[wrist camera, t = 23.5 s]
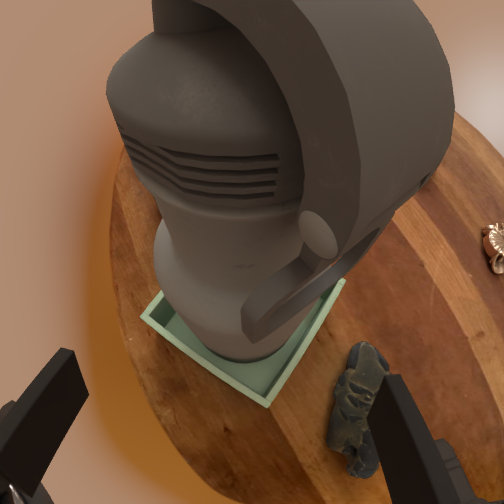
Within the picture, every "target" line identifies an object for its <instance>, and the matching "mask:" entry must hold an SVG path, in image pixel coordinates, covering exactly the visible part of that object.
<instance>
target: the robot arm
mask: <svg viewBox="0 0 504 504" xmlns="http://www.w3.org/2000/svg"><path fill="white" fill-rule="evenodd" d="M88 396H89V393H88V390H87V388H86V385H85V382H84V380H83V377H82V374H81V371H80V368H79V365H78V362H77V359H76V356H75V353H74V351H73V350H69V349H65V348H60V349H59V350H58V352H57V353H56V354H55V355H54V356H53V357H52V358H51V359H50V361H49V362H48V363H47V364H46V366H45V367H44V368H43V369H42V370H41V371H40V373H39V374H38V375H37V376H36V378H35V379H34V380H33V381H32V383H31V384H30V385H29V386H28V387H27V389H26V390H25V391H24V393H23V394H22V395H21V396H20V398H19V399H18V400H17V402H15V401H13V400H12V401H10V402H9V403H7V404H5V405H4V406H3V407H2V408H1V409H0V504H28V503H27V501H26V500H25V498H24V496H23V495H22V493H24V494H25V495H27V496H29V497H31V498H33V496H34V494H35V492H36V490H37V488H38V486H39V484H40V482H41V480H42V478H43V476H44V474H45V472H46V470H47V468H48V466H49V464H50V462H51V461H52V459H53V457H54V455H55V453H56V451H57V449H58V448H59V446H60V444H61V442H62V441H63V438H64V437H65V435H66V433H67V432H68V430H69V428H70V426H71V425H72V423H73V421H74V420H75V418H76V416H77V414H78V413H79V411H80V409H81V408H82V406H83V404H84V403H85V401H86V399H87V398H88ZM366 420H367V423H368V426H369V429H370V432H371V435H372V438H373V441H374V444H375V447H376V450H377V453H378V457H379V460H380V463H381V466H382V470H383V473H384V476H385V480H386V483H387V486H388V490H389V493H390V497H391V500H392V504H504V500H500V501H494V502H487V501H486V500H484V499H482V498H477V497H476V496H475V494H474V492H473V490H472V488H471V486H470V483H469V481H468V479H467V477H466V475H465V472H464V470H463V468H462V466H460V465H461V464H460V462H459V460H458V459H457V456H456V454H455V452H454V450H453V448H452V446H451V445H450V444H449V443H448V442H447V441H445V440H444V439H443V438H442V439H439V440H435V441H434V440H433V438H432V436H431V433H430V431H429V429H428V427H427V425H426V423H425V421H424V419H423V417H422V415H421V413H420V411H419V409H418V407H417V405H416V404H415V402H414V400H413V398H412V396H411V394H410V392H409V390H408V388H407V386H406V384H405V383H404V381H403V379H402V377H401V375H400V374H396V375H385V376H384V378H383V380H382V383H381V385H380V387H379V390H378V392H377V395H376V397H375V399H374V402H373V404H372V406H371V408H370V410H369V413H368V415H367V417H366ZM21 492H22V493H21Z"/></svg>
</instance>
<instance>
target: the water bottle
mask: <svg viewBox="0 0 504 504" xmlns="http://www.w3.org/2000/svg"><path fill="white" fill-rule="evenodd" d="M152 12H153V23H154V32H152V33H150V34H149V35H147V36H146V37H144V38H143V39H142V40H140V41H139V42H138V43H137V44H135V45H134V46H133V47H132V48H131V49H129V50H128V51H127V52H126V53H125V54H123V55H122V57H121V58H120V59H119V60H118V61H117V62H116V64H115V65H114V66H113V68H112V71H111V73H110V75H109V77H108V80H107V89H106V95H107V99H108V102H109V105H110V108H111V110H112V113H113V116H114V119H115V121H116V123H117V126H118V129H119V132H120V134H121V137H122V140H123V142H124V145H125V148H126V150H127V153H128V155H129V157H130V159H131V162H132V166H133V168H134V171H135V173H136V175H137V177H138V179H139V181H140V182H141V183H142V184H143V185H144V186H145V187H146V189H147V190H148V191H149V192H150V193H151V194H152V195H153V196H154V198H155V201H156V203H157V206H158V208H159V211H160V213H161V215H162V220H161V223H160V225H159V227H158V229H157V232H156V237H155V241H154V269H155V273H156V277H157V281H158V283H159V285H160V287H161V290H162V292H163V294H164V296H165V298H166V300H167V301H168V302H169V304H170V305H171V306H172V307H173V309H174V310H175V311H176V312H177V314H178V315H179V316H180V317H181V319H182V320H183V321H184V322H185V323H186V325H187V326H188V327H189V328H190V329H191V331H192V332H193V333H194V334H195V335H196V336H197V338H198V339H199V340H200V341H201V342H202V343H203V345H204V346H205V347H206V348H207V349H208V350H209V351H211V352H212V353H213V354H214V355H216V356H218V357H220V358H222V359H224V360H227V361H230V362H234V363H253V362H258V361H261V360H264V359H266V358H268V357H270V356H272V355H273V354H275V353H276V352H277V351H278V350H280V349H281V348H282V347H283V346H284V345H285V343H286V342H287V341H288V339H289V338H290V337H291V336H292V334H293V333H294V332H295V330H296V329H297V328H298V326H299V325H300V324H301V323H302V321H303V320H304V319H305V317H306V316H307V315H308V313H309V312H310V311H311V309H312V308H313V306H314V305H315V303H316V302H317V300H318V299H319V297H320V296H321V295H322V294H323V293H324V292H325V291H327V290H328V289H329V288H330V287H332V286H333V285H334V284H335V283H336V282H338V281H339V280H340V279H341V278H342V277H344V276H345V275H346V274H347V273H348V272H349V271H350V270H351V269H352V268H353V267H354V266H355V265H356V264H357V263H358V262H359V261H360V260H361V259H362V258H363V257H364V255H365V254H366V253H367V252H368V250H369V249H370V248H371V246H372V245H373V244H374V242H375V241H376V239H377V238H378V237H379V235H380V234H381V233H382V231H383V230H384V229H385V227H386V226H387V224H388V223H389V222H390V220H391V219H392V217H393V215H394V213H395V211H396V210H397V209H398V208H399V207H400V206H402V205H403V204H404V203H405V202H406V201H407V200H408V199H410V198H411V197H412V196H413V195H414V194H415V193H416V192H418V191H419V190H420V189H421V188H422V187H423V186H424V185H425V184H426V183H427V182H428V181H429V179H430V178H431V176H432V175H433V173H434V172H435V171H436V169H437V168H438V166H439V164H440V163H441V161H442V159H443V157H444V155H445V153H446V151H447V149H448V147H449V145H450V142H451V135H452V128H453V120H454V110H455V104H454V95H453V87H452V80H451V74H450V68H449V64H448V61H447V59H446V56H445V54H444V52H443V49H442V47H441V45H440V43H439V40H438V38H437V36H436V34H435V32H434V29H433V28H432V25H431V24H430V23H429V21H428V20H427V18H426V17H425V16H424V14H423V13H422V12H421V10H420V9H419V8H418V6H417V5H416V4H415V3H414V1H413V0H152ZM342 255H343V256H342ZM341 256H342V257H341ZM340 257H341V258H340ZM339 258H340V259H339ZM337 259H339V260H338V261H337V262H336V263H335V264H334V265H333V266H332V267H331V264H332V263H333V262H335V261H336V260H337Z"/></svg>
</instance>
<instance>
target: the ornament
mask: <svg viewBox="0 0 504 504" xmlns="http://www.w3.org/2000/svg"><path fill="white" fill-rule="evenodd" d="M483 229H484V230H483V233H484V234H485V235H486V236H485V237H484V238H483V246H484V248H485V251H486V253H487V254H488V255H489V257H490V258H491V260H490V261H489V263H490V264H491V266H492V270H493V272H494V273H496V274H502V273H504V224H503V223H501V228H499V227H498V223H496V224H494V225H484V226H483ZM499 255H502V257H501V258H500V259H499V260H498V261H496V259H497V257H498V256H499Z"/></svg>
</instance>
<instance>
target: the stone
mask: <svg viewBox="0 0 504 504" xmlns="http://www.w3.org/2000/svg"><path fill="white" fill-rule="evenodd" d="M385 375H392V374H391V373H390V372H389V365H388V363H387V361H386V360H385V359H384V357H383V356H382V355H381V354H380V353H379V352H378V350H377V349H376V348H375V347H373V346H372V345H371V344H370V343H368V342H366V341H365V342H363V341H362V342H360V343H358V344H356V346H353V348H352V349H351V351H350V354H349V358H348V361H347V366H346V371H345V372H344V373H343V374H342V375H341V376H340V377H339V379H338V382H337V384H336V387H335V390H334V391H333V396H334V399H335V401H336V404H335V406H334V409H333V411H332V414H331V417H330V421H329V426H328V432H327V439H326V444H327V445H328V447H330V448H331V449H332V450H333V451H336V452H340V453H342V454H344V455H345V457H346V459H347V462H348V464H347V467H346V470H347V472H348V474H349V475H350V476H353V477H360V478H362V479H366V478H369V477H371V476H372V475H373V474H374V473H375V471H376V470H377V469H378V467H379V462H380V460H379V457H378V453H377V450H376V447H375V444H374V441H373V438H372V435H371V432H370V429H369V426H368V423H367V420H366V417H367V415H368V413H369V410H370V408H371V406H372V404H373V402H374V399H375V397H376V395H377V392H378V390H379V387H380V385H381V383H382V380H383V378H384V376H385Z"/></svg>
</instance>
